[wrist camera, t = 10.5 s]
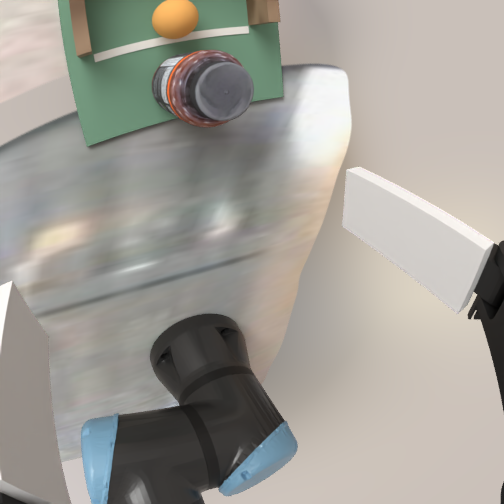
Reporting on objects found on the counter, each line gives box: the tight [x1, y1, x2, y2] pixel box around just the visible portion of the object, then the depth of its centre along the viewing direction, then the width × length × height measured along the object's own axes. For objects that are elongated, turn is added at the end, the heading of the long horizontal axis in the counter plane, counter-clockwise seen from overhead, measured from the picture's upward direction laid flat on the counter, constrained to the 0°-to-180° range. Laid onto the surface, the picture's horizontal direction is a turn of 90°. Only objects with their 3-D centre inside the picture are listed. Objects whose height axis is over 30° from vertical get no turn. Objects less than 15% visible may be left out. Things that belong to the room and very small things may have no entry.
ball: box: [152, 0, 199, 39], centre depth 20 cm, size 4×4×4 cm
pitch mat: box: [58, 0, 283, 147], centre depth 21 cm, size 22×21×1 cm
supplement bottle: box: [152, 50, 254, 127], centre depth 22 cm, size 6×6×11 cm
